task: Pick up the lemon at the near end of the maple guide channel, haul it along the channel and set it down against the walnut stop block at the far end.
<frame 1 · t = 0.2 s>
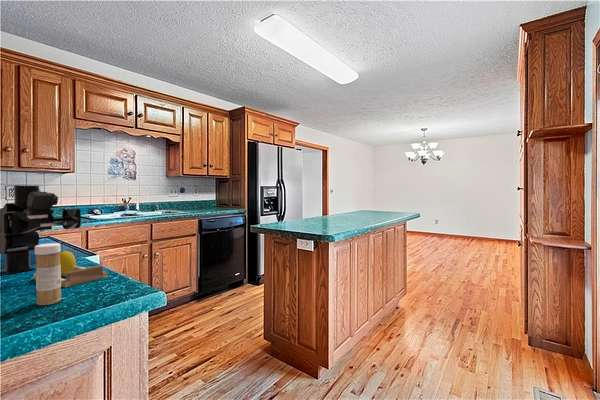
hand: (59, 223, 85), 17 cm above the counter, tool horizontal, fingers open, 9 cm apart
channel: (70, 277, 89), on the counter
sprinkles bottle: (49, 303, 69), on the counter
lemon: (64, 277, 91), on the counter
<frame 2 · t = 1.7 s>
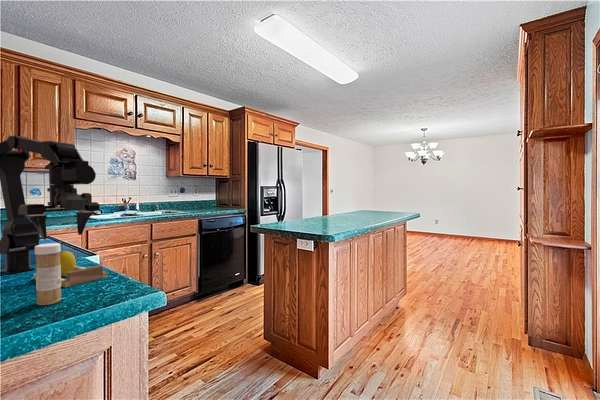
hand: (63, 236, 90), 12 cm above the counter, tool pointing down, fingers open, 9 cm apart
nothing on the counter moved.
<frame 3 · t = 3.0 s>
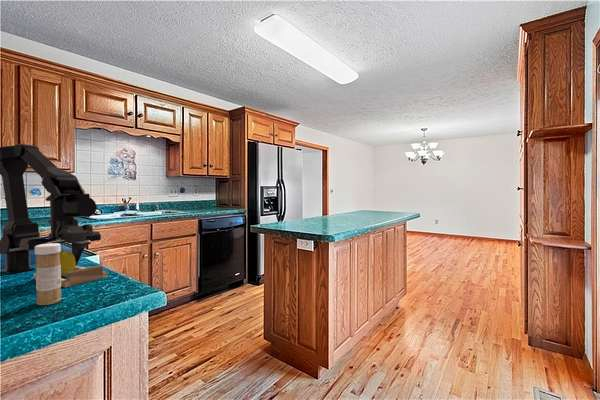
hand: (64, 268, 90), 3 cm above the counter, tool pointing down, fingers closed on lemon, 6 cm apart
lemon: (64, 277, 91), on the counter, touching gripper
everything else where it was.
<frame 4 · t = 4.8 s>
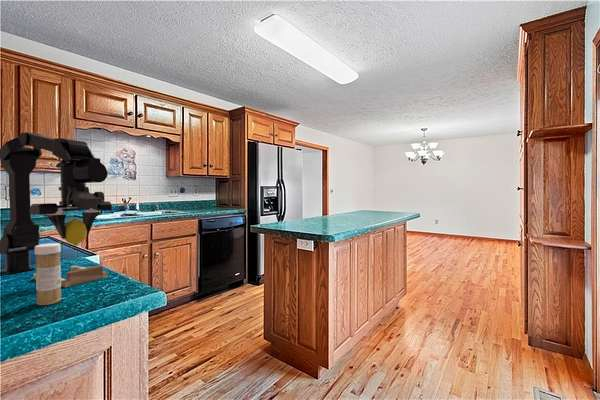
hand: (75, 237, 87), 12 cm above the counter, tool pointing down, fingers closed on lemon, 6 cm apart
lemon: (75, 246, 87), point 10 cm above the counter, touching gripper
everything else where it was.
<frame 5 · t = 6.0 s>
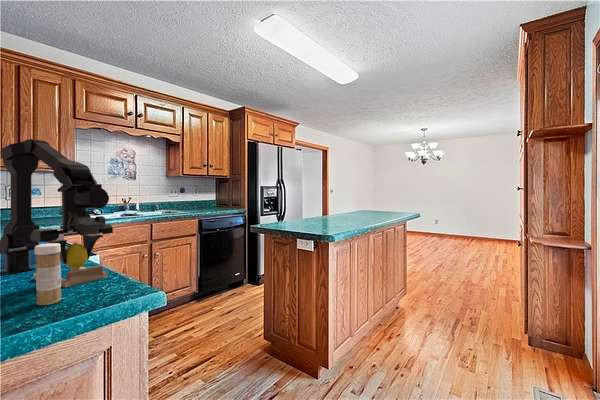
hand: (75, 261, 87), 5 cm above the counter, tool pointing down, fingers closed on lemon, 6 cm apart
lemon: (76, 270, 88), point 2 cm above the counter, touching gripper
everything else where it was.
when the fingers open (3 cm above the counter, at t = 6.8 s): lemon stays where it is, on the counter.
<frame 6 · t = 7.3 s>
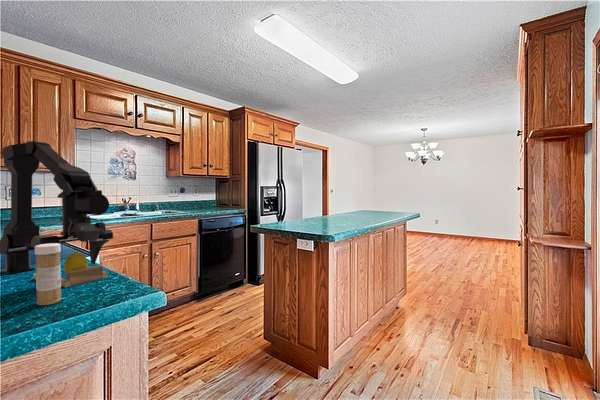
hand: (76, 267, 87), 3 cm above the counter, tool pointing down, fingers open, 9 cm apart
lemon: (76, 280, 88), on the counter
everything else where it was.
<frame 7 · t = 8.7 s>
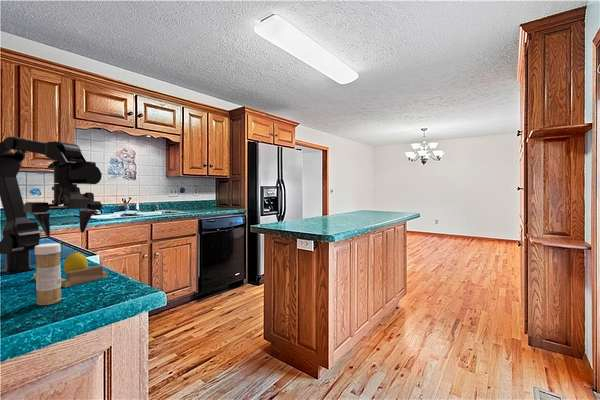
hand: (65, 234, 93), 12 cm above the counter, tool pointing down, fingers open, 9 cm apart
nothing on the counter moved.
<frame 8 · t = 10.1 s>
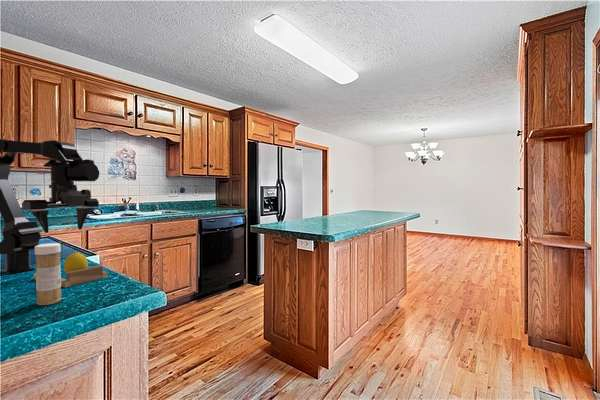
hand: (64, 231, 95), 13 cm above the counter, tool pointing down, fingers open, 9 cm apart
nothing on the counter moved.
at the end: lemon inside the target area (0.5 cm from its centre), on the counter; lemon moved 6.5 cm from its start; the gripper is holding nothing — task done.
